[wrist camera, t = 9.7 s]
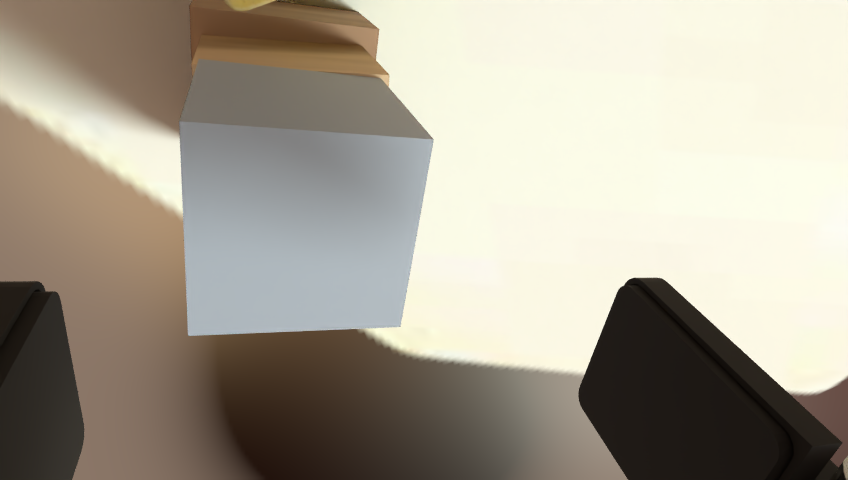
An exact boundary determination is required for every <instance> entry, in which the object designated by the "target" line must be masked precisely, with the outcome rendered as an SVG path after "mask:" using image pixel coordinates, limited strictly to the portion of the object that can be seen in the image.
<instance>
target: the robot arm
mask: <svg viewBox="0 0 848 480" xmlns="http://www.w3.org/2000/svg"><path fill="white" fill-rule="evenodd" d="M579 402H580V405H581V407H582V409H583V410H584V412H585V413H586V415H587V417H588V418H589V420H590V421H591V423H592V424H593V426H594V428H595V429H596V431H597V432H598V434H599V435H600V437H601V438H602V440H603V441H604V443H605V444H606V446H607V448H608V449H609V451H610V452H611V454H612V455H613V457H614V459H615V460H616V462H617V463H618V465H619V466H620V468H621V469H622V471H623V472H624V474H625V476H626V477H627V479H628V480H848V456H847V458H846V459H845V460H844V461H843V463H842V464H841V465H840V467H839V468H838V467H837V466H836V465H835V464H834V463H833V462H832V461H831V460H830V459H831V457H832V456H833V455H834V453H835V452H836V451H837V449H838V448H839V447H840V445H841V444H842V442H841V441H840V440H839V439H838V438H837V437H836V436H834V435H833V434H832V433H831V432H830V431H829V430H828V429H827V428H826V427H825V426H824V425H823V424H821V423H820V422H819V421H818V420H817V419H816V418H815V417H814V416H812V414H810V413H809V412H808V411H807V410H806V409H805V408H804V407H803V406H802V405H801V404H800V403H799V402H797V401H796V400H795V399H794V398H793V397H792V396H791V395H790V394H789V393H788V392H787V391H785V390H784V389H783V388H782V387H781V386H780V385H779V384H778V383H777V382H776V381H774V380H773V379H772V378H771V377H770V376H769V375H768V374H767V373H766V372H765V371H764V370H762V369H761V368H760V367H759V366H758V365H757V364H756V363H755V362H754V361H753V360H752V359H750V358H749V357H748V356H747V355H746V354H745V353H744V352H743V351H742V350H741V349H740V348H738V347H737V346H736V345H735V344H734V343H733V342H732V341H731V340H730V339H729V338H728V337H726V336H725V335H724V334H723V333H722V332H721V331H720V330H719V329H718V328H717V327H716V326H714V325H713V324H712V323H711V322H710V321H709V320H708V319H707V318H706V317H705V316H703V315H702V314H701V313H700V312H699V311H698V310H697V309H696V308H695V307H694V306H693V305H691V304H690V303H689V302H688V301H687V300H686V299H685V298H684V297H683V296H682V295H681V294H679V293H678V292H677V291H676V290H675V289H674V288H673V287H672V286H671V285H670V284H669V283H667V282H666V281H665V280H663V279H661V278H632V279H629V280H628V281H627V282H626V283H625V285H624V286H622V287H621V288H620V289H619V290H618V292H617V294H616V297H615V299H614V302H613V304H612V307H611V310H610V312H609V315H608V317H607V320H606V322H605V325H604V327H603V330H602V332H601V335H600V337H599V340H598V342H597V345H596V347H595V350H594V352H593V355H592V357H591V360H590V363H589V365H588V368H587V370H586V373H585V375H584V378H583V380H582V383H581V385H580V388H579ZM83 440H84V423H83V418H82V412H81V407H80V402H79V397H78V391H77V386H76V380H75V375H74V370H73V364H72V359H71V354H70V348H69V343H68V338H67V332H66V327H65V322H64V316H63V311H62V305H61V301H60V297H59V295H58V293H57V292H45V288H44V286H43V285H42V283H40V282H37V281H32V282H31V281H30V282H0V480H72V478H73V475H74V472H75V469H76V466H77V463H78V460H79V456H80V454H81V450H82V446H83Z"/></svg>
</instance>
